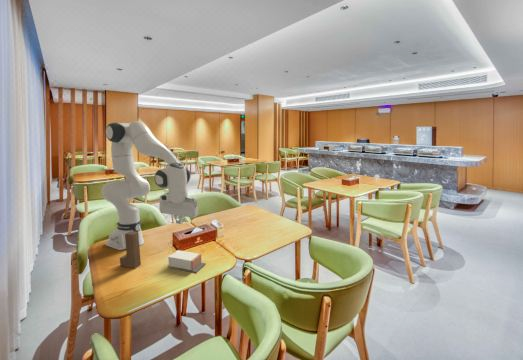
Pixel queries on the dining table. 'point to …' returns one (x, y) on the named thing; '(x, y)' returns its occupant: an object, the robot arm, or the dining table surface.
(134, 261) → the wooden block
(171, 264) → the cream block
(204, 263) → the mat
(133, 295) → the dining table surface
